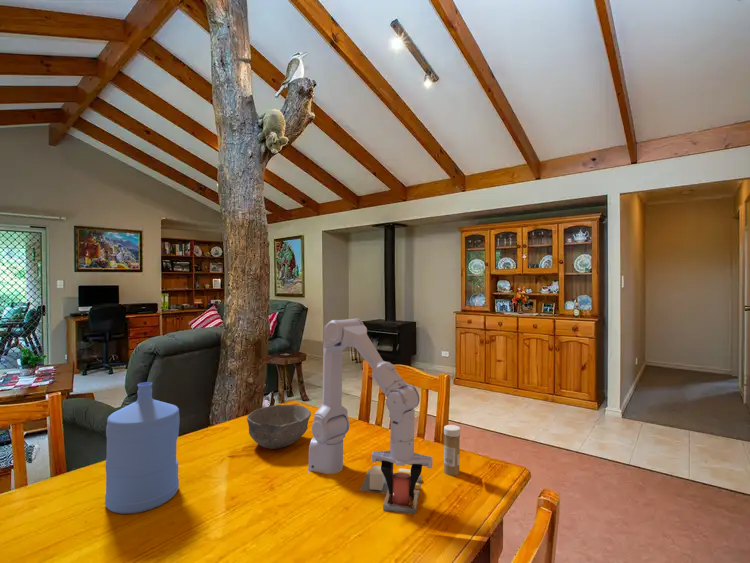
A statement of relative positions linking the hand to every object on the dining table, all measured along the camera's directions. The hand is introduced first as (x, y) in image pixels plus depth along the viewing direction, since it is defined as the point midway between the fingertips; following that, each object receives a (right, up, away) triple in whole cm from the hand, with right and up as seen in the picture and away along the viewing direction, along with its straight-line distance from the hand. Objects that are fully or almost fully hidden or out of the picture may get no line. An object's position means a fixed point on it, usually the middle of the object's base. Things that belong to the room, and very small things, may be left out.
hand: (401, 493), depth 95 cm
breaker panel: (-2, -3, +9) cm, 10 cm away
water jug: (-64, -2, +2) cm, 64 cm away
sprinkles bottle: (+15, -4, +16) cm, 22 cm away
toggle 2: (+1, -2, +6) cm, 6 cm away
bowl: (-38, -3, +35) cm, 52 cm away
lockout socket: (0, -3, 0) cm, 3 cm away
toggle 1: (-6, -2, +7) cm, 10 cm away
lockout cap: (0, -2, 0) cm, 2 cm away
